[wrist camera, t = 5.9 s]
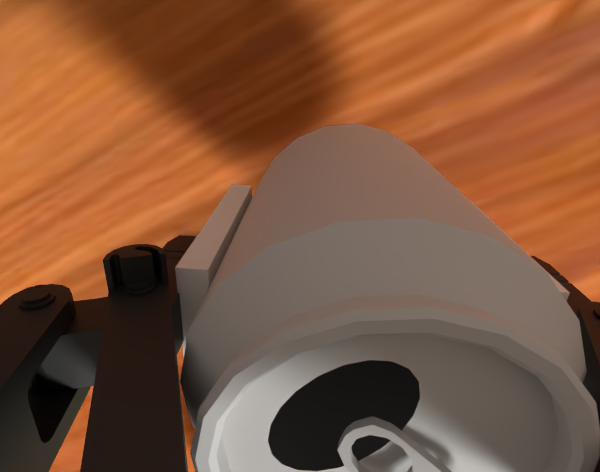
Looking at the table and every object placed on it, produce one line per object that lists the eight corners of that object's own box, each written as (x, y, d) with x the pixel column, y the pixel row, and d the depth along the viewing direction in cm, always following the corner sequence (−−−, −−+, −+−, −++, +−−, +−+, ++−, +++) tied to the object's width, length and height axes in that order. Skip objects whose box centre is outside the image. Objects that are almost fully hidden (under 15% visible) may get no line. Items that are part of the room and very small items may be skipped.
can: (339, 77, 15) (404, 131, 4) (469, 202, 16) (773, 489, 5) (222, 216, 17) (55, 491, 6) (346, 311, 19) (385, 655, 8)
